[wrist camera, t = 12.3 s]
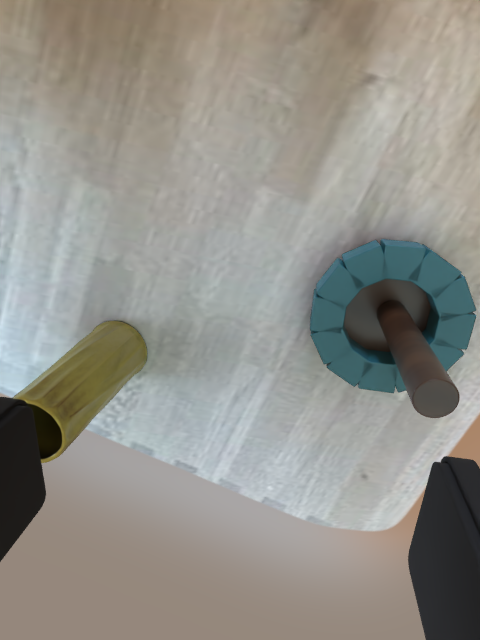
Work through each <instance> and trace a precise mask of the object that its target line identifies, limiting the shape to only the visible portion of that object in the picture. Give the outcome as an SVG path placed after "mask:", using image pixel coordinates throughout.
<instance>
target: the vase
mask: <svg viewBox="0 0 480 640" xmlns="http://www.w3.org/2000/svg"><path fill="white" fill-rule="evenodd" d="M146 360H147V348H146V345H145V342H144V340H143V338H142V337H141V335H140V334H139V333H138V332H137V331H136V330H135V329H134V328H133V327H131V326H130V325H128V324H126V323H123V322H119V321H108V322H104V323H102V324H100V325H98V326H97V327H96V328H95V329H94V330H93V332H91V333H90V334H89V335H87V336H86V337H85V338H83V339H82V340H81V341H80V342H78V343H77V344H76V345H75V346H74V347H73V348H72V349H70V350H69V351H68V352H67V353H66V354H65V355H64V356H63V357H61V358H60V359H59V360H58V361H57V362H56V363H54V364H53V365H52V366H51V367H50V368H49V369H48V370H46V371H45V372H44V373H43V374H41V375H40V376H39V377H38V378H37V379H35V380H34V381H33V382H32V383H31V384H29V385H28V386H27V387H26V388H24V389H23V390H22V391H20V392H19V393H18V394H17V395H15V396H14V397H13V398H14V399H21V400H24V401H26V403H27V405H28V407H31V408H32V410H33V414H34V420H35V427H36V433H37V439H38V446H39V452H40V458H41V463H44V462H49V461H51V460H53V459H55V458H57V457H59V456H60V455H61V454H62V453H63V452H64V451H65V450H66V449H67V447H68V446H69V445H70V444H71V443H72V442H73V441H74V440H75V439H76V438H77V437H78V435H79V434H80V433H81V432H82V431H83V430H84V429H85V428H86V427H87V425H88V424H89V423H90V422H91V420H92V419H93V418H94V417H95V416H96V415H97V414H98V413H99V412H100V411H101V410H102V409H103V408H104V407H105V406H106V405H107V404H108V403H109V402H110V400H111V399H112V398H113V397H114V396H115V395H116V394H117V393H118V392H119V391H120V389H121V388H122V387H123V386H124V385H125V384H126V383H127V382H128V381H129V380H130V379H131V378H132V377H133V376H134V375H135V374H136V373H138V372H139V371H141V369H142V368H143V367H144V365H145V363H146Z"/></svg>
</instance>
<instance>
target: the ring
mask: <svg viewBox="0 0 480 640" xmlns="http://www.w3.org/2000/svg"><path fill="white" fill-rule="evenodd" d="M342 258H343V261H342V260H341V259H339V258H337V259H336V260H335V261H334V263H333V264H332V265H331V266H330V268H329V269H328V270H327V271H326V273H325V274H324V275H323V277H322V278H321V279H320V280H319V282H318V283H317V284H316V289H314V295H313V302H312V310H311V317H310V331H311V337H312V339H313V341H314V344H315V346H316V348H317V350H318V352H319V355H320V357H321V359H322V361H323V363H324V364H327V368H328V369H329V370H331V371H332V372H334V373H335V374H337V375H338V376H339V377H341V378H342V379H344V380H345V381H347V382H348V383H350V384H351V385H352V386H354V387H355V386H356V385H357V384H358V387H359V388H360V389H367V390H374V391H381V392H389V393H394V390H395V386H396V388H397V391H398V392H402V391H405V390H406V387H405V385H404V382H403V380H402V377H401V375H400V373H399V370H398V368H397V365H396V363H395V360H394V358H393V356H392V353H391V352H383V351H375V350H367V349H365V348H364V347H363V346H361V345H360V344H358V343H357V342H356V341H354V340H353V339H351V338H350V337H349V335H348V333H347V331H346V328H345V326H344V319H345V313H346V307H347V306H348V304H349V303H350V302H351V301H352V300H353V299H354V297H355V296H356V295H357V294H358V293H359V291H360V290H361V289H362V288H364V287H367V286H369V285H372V284H374V283H377V282H379V281H382V280H384V279H392V280H402V281H411V282H413V283H414V284H416V285H417V286H418V287H420V288H421V289H422V290H424V291H425V293H426V295H427V298H428V301H429V303H430V306H431V309H430V313H429V318H428V322H427V326H426V329H425V330H424V331H423V332H422V335H423V336H424V338H425V339H426V341H427V342H428V344H429V345H430V347H431V349H432V350H433V352H434V353H435V355H436V356H437V358H438V360H439V361H440V363H441V364H442V366H443V367H444V369H445V371H447V370H448V369H449V368H450V367H451V366H452V365H453V364H454V363H455V362H456V361H457V360H458V359H459V358H460V357H462V356H463V355H464V353H463V352H462V350H461V349H465V350H466V349H467V347H468V343H469V340H470V336H471V333H472V329H473V326H474V322H475V318H476V315H475V314H474V313H473V311H476V308H475V305H474V302H473V299H472V296H471V293H470V291H469V288H468V285H467V282H466V279H465V277H464V276H463V275H461V272H460V271H459V270H458V269H456V268H455V267H454V266H452V265H451V264H450V263H448V262H447V261H445V260H444V259H443V258H441V257H440V256H439V255H437V254H436V253H435V252H433V251H432V250H430V249H429V248H428V247H426V246H425V245H424V244H422V245H421V244H419V243H418V242H409V241H398V240H387V239H381V240H380V244H379V243H378V242H377V241H376V240H374V241H372V242H369V243H367V244H365V245H362V246H360V247H358V248H355V249H353V250H351V251H348V252H346V253H344V254H342Z"/></svg>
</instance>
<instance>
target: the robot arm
mask: <svg viewBox="0 0 480 640" xmlns="http://www.w3.org/2000/svg"><path fill="white" fill-rule="evenodd" d="M45 496H46V490H45V483H44V477H43V472H42V465H41V458H40V452H39V446H38V439H37V433H36V427H35V420H34V414H33V410H32V408H31V407H28V405H27V403H26V401H24V400H21V399H14V398H6V397H0V561H1V560H2V559H3V557H4V556H5V555H6V553H7V552H8V551H9V549H10V548H11V547H12V546H13V544H14V543H15V542H16V540H17V539H18V538H19V536H20V535H21V534H22V533H23V531H24V530H25V529H26V527H27V526H28V525H29V523H30V522H31V521H32V519H33V518H34V517H35V515H36V514H37V513H38V511H39V510H40V509H41V507H42V505H43V503H44V501H45ZM408 562H409V570H410V575H411V579H412V583H413V587H414V591H415V596H416V600H417V604H418V608H419V612H420V616H421V621H422V625H423V629H424V633H425V638H426V640H480V469H479V467H478V465H477V463H476V462H475V461H474V460H470V459H462V458H455V457H447V456H446V457H443V459H442V461H441V463H440V462H434V463H433V465H432V468H431V471H430V475H429V479H428V483H427V486H426V490H425V494H424V498H423V501H422V505H421V509H420V512H419V516H418V520H417V523H416V527H415V531H414V535H413V538H412V542H411V546H410V549H409V556H408Z"/></svg>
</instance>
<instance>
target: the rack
mask: <svg viewBox="0 0 480 640" xmlns="http://www.w3.org/2000/svg"><path fill="white" fill-rule="evenodd" d="M430 309H431V306H430V303H429V301H428V298H427V295H426V293H425V291H424V290H422V289H421V288H420V287H418V286H417V285H416V284H414V283H413V282H411V281H402V280H392V279H384V280H382V281H379V282H377V283H374V284H372V285H369V286H367V287H364V288H362V289H361V290H360V291H359V293H358V294H357V295H356V296H355V297H354V299H353V300H352V301H351V302H350V303H349V304H348V306H347V307H346V313H345V319H344V326H345V328H346V331H347V333H348V335H349V337H350V338H351V339H353V340H354V341H356V342H357V343H358V344H360V345H361V346H363V347H364V348H365V349H367V350H375V351H383V352H391V353H392V356H393V358H394V360H395V363H396V365H397V368H398V370H399V373H400V375H401V377H402V380H403V382H404V385H405V387H406V390H407V392H408V395H409V397H410V399H411V402H412V404H413V406H414V408H415V410H416V411H417V412H419V413H420V414H421V415H423V416H426V417H430V418H440V417H444V416H446V415H448V414H450V413H451V412H452V411H454V409H455V408H456V407H457V405H458V402H459V392H458V390H457V388H456V386H455V385H454V383H453V382H452V380H451V378H450V377H449V375H448V374H447V372H446V371H445V369H444V367H443V366H442V364H441V363H440V361H439V360H438V358H437V356H436V355H435V353H434V352H433V350H432V349H431V347H430V345H429V344H428V342H427V341H426V339H425V338H424V336H423V335H422V332H423V331H424V330H425V329H426V326H427V322H428V318H429V313H430Z"/></svg>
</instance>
